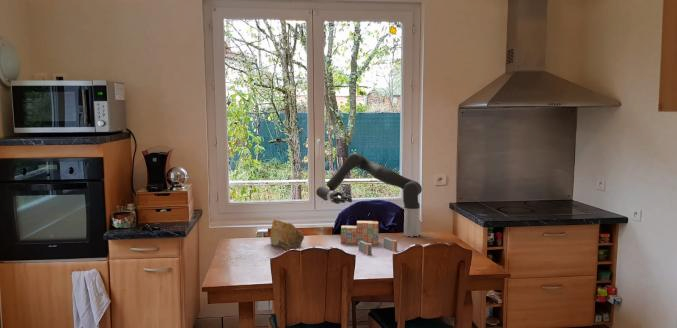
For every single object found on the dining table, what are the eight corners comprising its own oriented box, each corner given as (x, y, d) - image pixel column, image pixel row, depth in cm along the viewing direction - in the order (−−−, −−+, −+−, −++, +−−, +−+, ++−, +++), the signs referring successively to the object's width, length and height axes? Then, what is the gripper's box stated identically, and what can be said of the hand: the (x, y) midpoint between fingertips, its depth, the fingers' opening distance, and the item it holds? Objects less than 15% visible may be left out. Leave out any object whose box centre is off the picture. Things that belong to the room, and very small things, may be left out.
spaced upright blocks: (386, 246, 254) (386, 236, 253) (397, 250, 245) (397, 240, 244) (358, 250, 245) (358, 240, 245) (368, 254, 237) (368, 244, 236)
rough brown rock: (310, 251, 246) (312, 223, 246) (281, 252, 238) (283, 224, 238) (294, 243, 266) (296, 217, 266) (267, 243, 259) (269, 217, 259)
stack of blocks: (340, 243, 260) (340, 222, 259) (341, 240, 266) (341, 220, 265) (378, 244, 258) (378, 223, 257) (378, 241, 264) (378, 221, 263)
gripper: (324, 191, 285) (337, 195, 270) (344, 190, 292) (358, 193, 277) (324, 203, 286) (337, 207, 271) (344, 202, 292) (358, 206, 277)
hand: (347, 200), depth 274 cm, fingers open, 4 cm apart
